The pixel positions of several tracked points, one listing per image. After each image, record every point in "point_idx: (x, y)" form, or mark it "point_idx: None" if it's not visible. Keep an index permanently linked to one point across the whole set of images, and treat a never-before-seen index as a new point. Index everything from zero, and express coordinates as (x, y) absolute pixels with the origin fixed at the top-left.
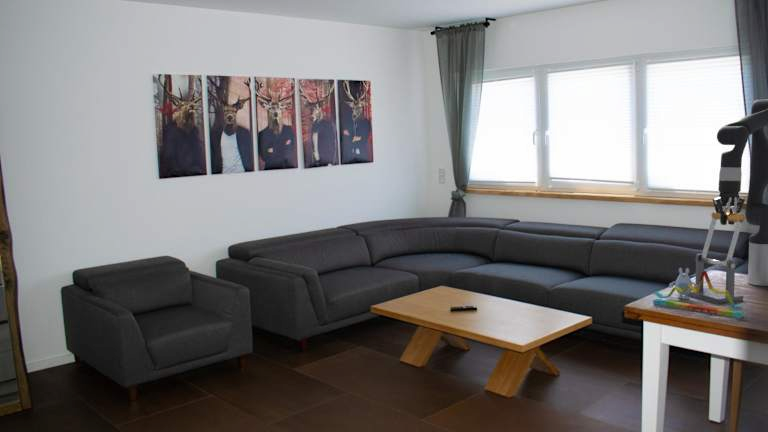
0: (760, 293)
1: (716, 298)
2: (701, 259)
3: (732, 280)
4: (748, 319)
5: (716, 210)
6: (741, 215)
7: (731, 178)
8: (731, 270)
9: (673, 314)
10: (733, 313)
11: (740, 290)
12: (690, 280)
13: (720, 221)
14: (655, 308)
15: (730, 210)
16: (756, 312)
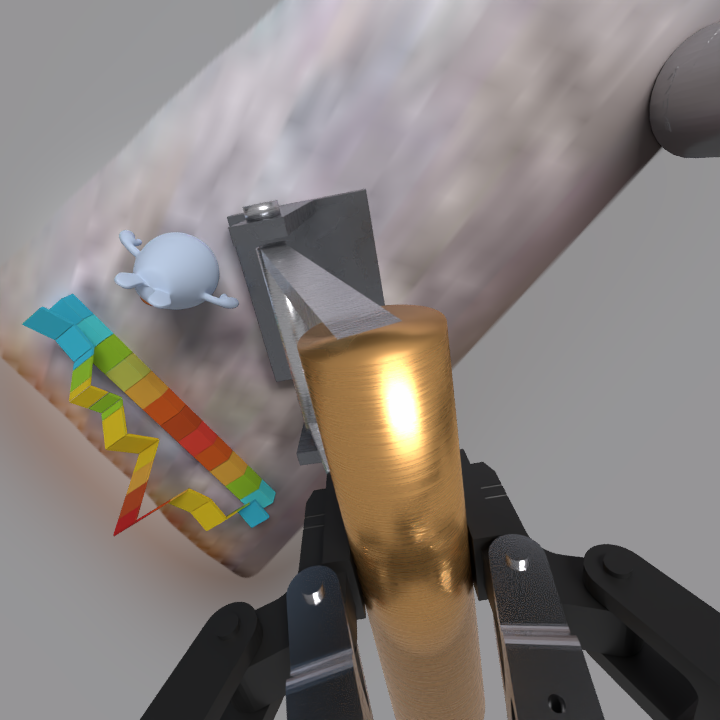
0: (539, 272)
1: (277, 370)
2: (259, 259)
3: None
4: (274, 515)
5: (192, 668)
6: None
7: None
8: None
9: (88, 432)
10: (243, 501)
11: (508, 199)
12: (191, 301)
13: (307, 509)
14: (48, 359)
15: (516, 610)
16: None
